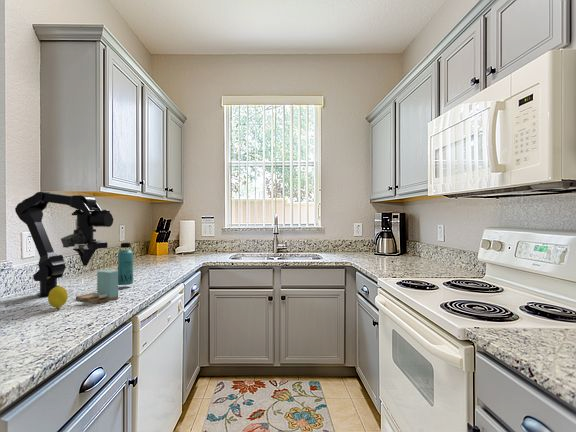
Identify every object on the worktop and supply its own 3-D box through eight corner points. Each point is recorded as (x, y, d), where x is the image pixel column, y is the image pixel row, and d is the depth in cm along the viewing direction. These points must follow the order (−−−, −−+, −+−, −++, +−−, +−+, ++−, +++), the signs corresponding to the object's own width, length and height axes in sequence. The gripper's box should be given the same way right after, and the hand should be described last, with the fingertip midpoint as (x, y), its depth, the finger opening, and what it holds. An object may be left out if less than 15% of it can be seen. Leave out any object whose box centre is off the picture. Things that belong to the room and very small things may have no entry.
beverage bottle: (113, 287, 147) (113, 242, 147) (126, 285, 153) (126, 241, 153) (124, 289, 144) (124, 243, 144) (136, 286, 150) (136, 242, 150)
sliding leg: (89, 297, 124) (89, 272, 124) (105, 294, 130) (105, 269, 130) (96, 298, 123) (96, 273, 123) (111, 294, 129) (111, 270, 129)
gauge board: (75, 299, 126) (75, 296, 126) (94, 295, 133) (94, 292, 133) (100, 303, 121) (100, 299, 121) (118, 298, 128) (118, 295, 128)
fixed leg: (96, 298, 123) (96, 273, 123) (111, 294, 129) (111, 270, 129) (102, 299, 122) (102, 273, 122) (118, 295, 128) (118, 271, 128)
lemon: (57, 311, 111) (57, 287, 111) (43, 310, 112) (43, 286, 112) (71, 307, 116) (71, 284, 116) (58, 306, 117) (58, 283, 117)
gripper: (49, 227, 129) (49, 267, 129) (81, 227, 121) (81, 270, 121) (77, 226, 139) (77, 263, 139) (108, 227, 132) (108, 266, 132)
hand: (85, 265), depth 132 cm, fingers closed
